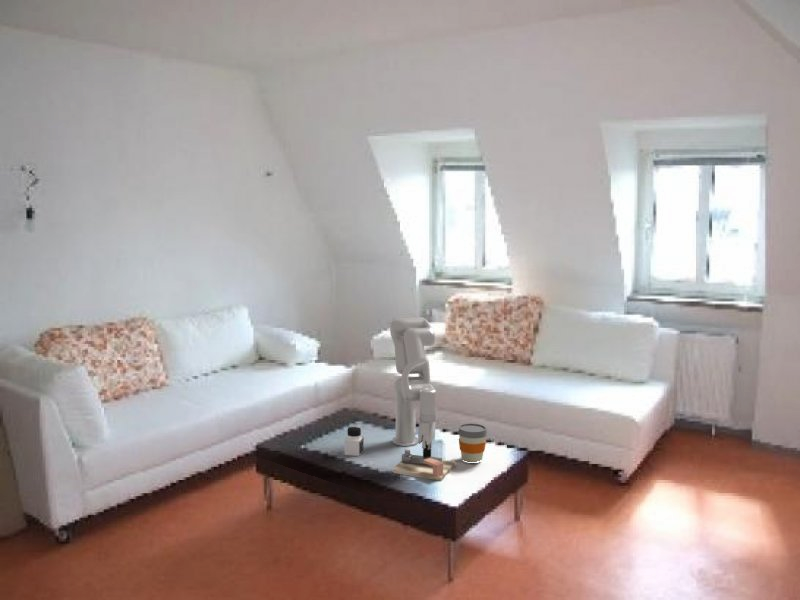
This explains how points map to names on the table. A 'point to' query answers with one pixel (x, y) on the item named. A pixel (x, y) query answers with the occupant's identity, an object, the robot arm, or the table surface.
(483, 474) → the table surface
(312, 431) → the table surface
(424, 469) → the birch board
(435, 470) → the keeper
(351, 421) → the table surface
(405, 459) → the steel link
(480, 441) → the reusable coffee cup
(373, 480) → the table surface
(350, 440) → the medicine bottle
